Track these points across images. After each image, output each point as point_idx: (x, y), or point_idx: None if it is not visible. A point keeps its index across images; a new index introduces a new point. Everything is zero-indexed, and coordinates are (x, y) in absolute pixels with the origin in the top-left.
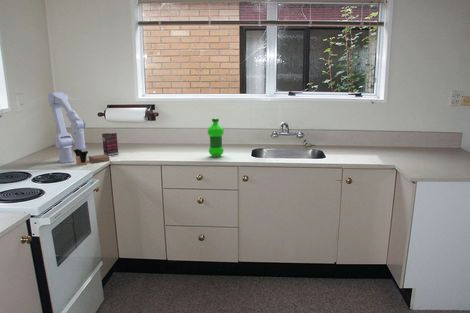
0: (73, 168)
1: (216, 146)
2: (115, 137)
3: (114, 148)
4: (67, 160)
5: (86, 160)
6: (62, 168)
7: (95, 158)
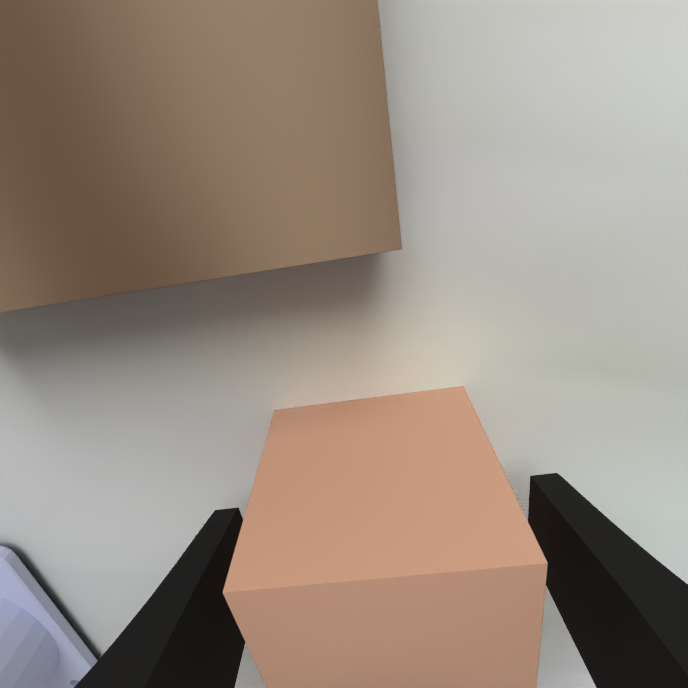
0: None
1: None
2: None
3: None
4: (34, 656)
5: (497, 464)
6: None
7: (388, 154)
